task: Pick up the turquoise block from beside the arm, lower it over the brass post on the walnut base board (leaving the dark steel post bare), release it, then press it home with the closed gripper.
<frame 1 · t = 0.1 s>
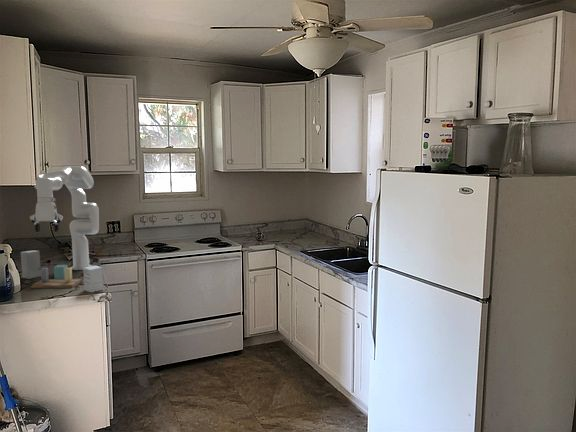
hand: (47, 231, 258), 31 cm above the countertop, fingers open, 9 cm apart
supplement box: (94, 290, 256), on the countertop
turquoise block: (61, 278, 280), on the countertop
dark steel post: (45, 284, 266), resting on walnut base board
walnut base board: (57, 284, 267), on the countertop
brass post: (69, 284, 267), resting on walnut base board
skincare box: (31, 277, 283), on the countertop
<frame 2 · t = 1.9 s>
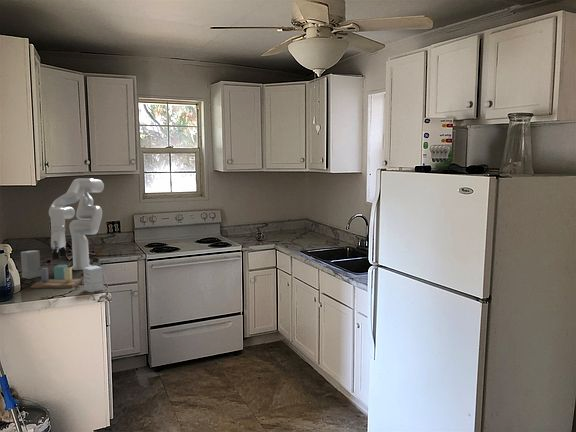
hand: (59, 257, 278), 13 cm above the countertop, fingers open, 9 cm apart
nothing on the countertop moved.
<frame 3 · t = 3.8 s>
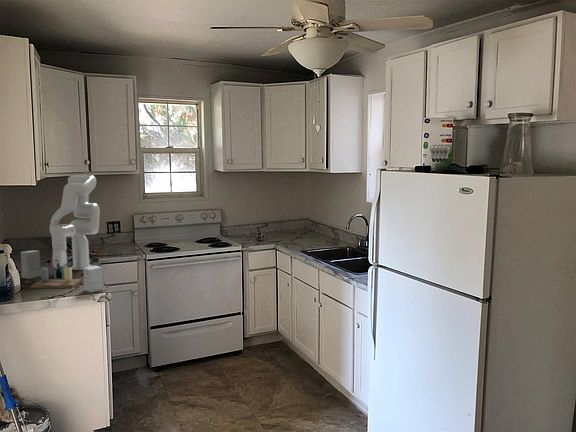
hand: (61, 276, 280), 1 cm above the countertop, fingers closed on turquoise block, 5 cm apart
turquoise block: (61, 278, 280), on the countertop, touching gripper
everything else where it was.
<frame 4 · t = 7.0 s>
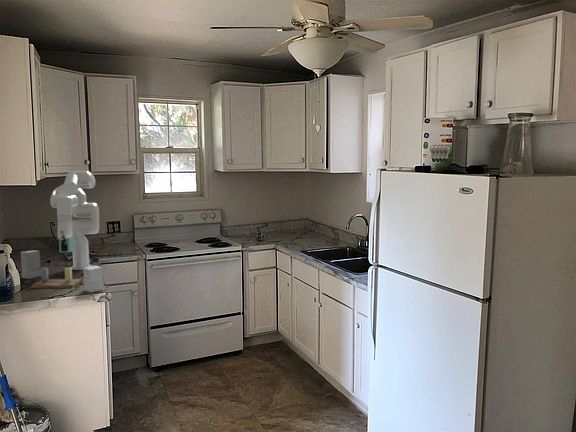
hand: (66, 249, 265), 20 cm above the countertop, fingers closed on turquoise block, 5 cm apart
turquoise block: (66, 251, 265), point 19 cm above the countertop, touching gripper
everything else where it was.
when the fingers open (4 cm above the countertop, at t = 10.4 s): turquoise block stays where it is, resting on brass post.
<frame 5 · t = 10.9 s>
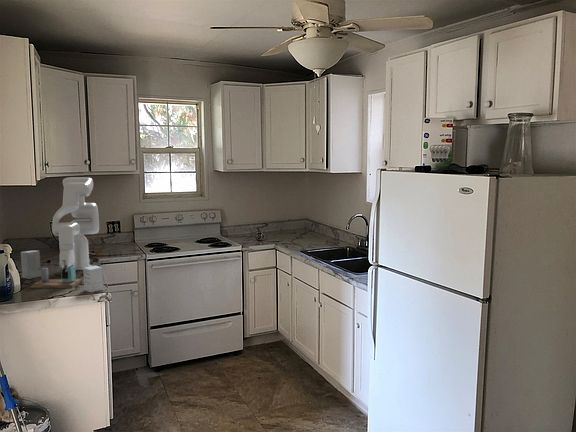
hand: (68, 276, 266), 5 cm above the countertop, fingers open, 9 cm apart
turquoise block: (68, 280, 267), point 2 cm above the countertop, touching brass post
everything else where it was.
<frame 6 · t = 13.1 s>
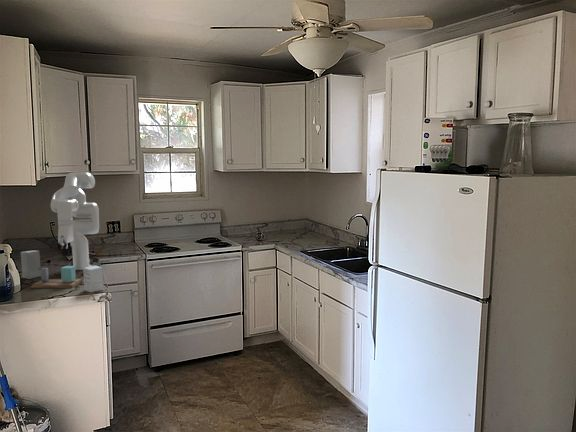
hand: (67, 254, 265), 17 cm above the countertop, fingers open, 3 cm apart
nothing on the countertop moved.
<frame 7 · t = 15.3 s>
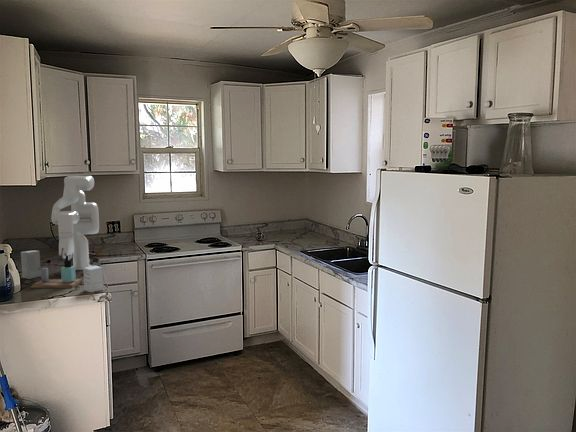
hand: (68, 267, 265), 10 cm above the countertop, fingers closed
turquoise block: (68, 280, 267), point 2 cm above the countertop, touching brass post, gripper
everything else where it was.
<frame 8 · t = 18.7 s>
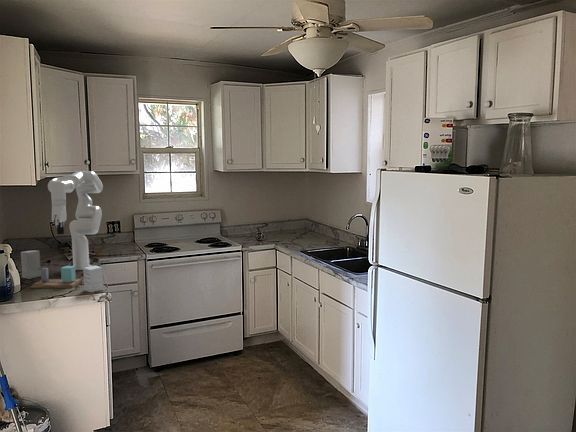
hand: (60, 233, 275), 27 cm above the countertop, fingers closed
turquoise block: (68, 280, 267), point 2 cm above the countertop, touching brass post
everything else where it was.
at the end: turquoise block 0.0 cm off-centre on the brass post, point 2.5 cm above the brass post's base; turquoise block tilted 0°; the gripper is holding nothing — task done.
